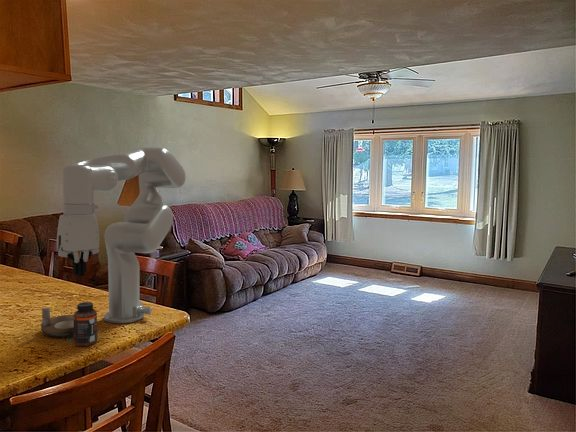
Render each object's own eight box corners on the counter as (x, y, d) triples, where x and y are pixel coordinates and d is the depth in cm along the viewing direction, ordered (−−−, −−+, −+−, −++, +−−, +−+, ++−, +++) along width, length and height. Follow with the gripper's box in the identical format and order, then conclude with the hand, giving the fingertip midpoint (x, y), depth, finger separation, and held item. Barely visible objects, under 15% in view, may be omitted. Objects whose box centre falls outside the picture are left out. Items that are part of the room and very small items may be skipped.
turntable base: (92, 326, 137) (92, 322, 137) (70, 341, 125) (70, 337, 125) (59, 324, 138) (58, 321, 138) (34, 340, 125) (34, 336, 125)
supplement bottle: (99, 344, 124) (98, 305, 122) (76, 348, 120) (75, 308, 119) (94, 337, 128) (94, 299, 127) (72, 341, 125) (71, 302, 124)
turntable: (81, 316, 142) (80, 296, 141) (96, 327, 132) (96, 306, 132) (35, 325, 133) (35, 304, 132) (48, 337, 123) (48, 315, 123)
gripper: (99, 208, 129) (99, 269, 131) (44, 210, 118) (45, 277, 120) (111, 210, 124) (111, 274, 126) (55, 212, 113) (56, 282, 115)
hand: (79, 275), depth 123 cm, fingers closed
